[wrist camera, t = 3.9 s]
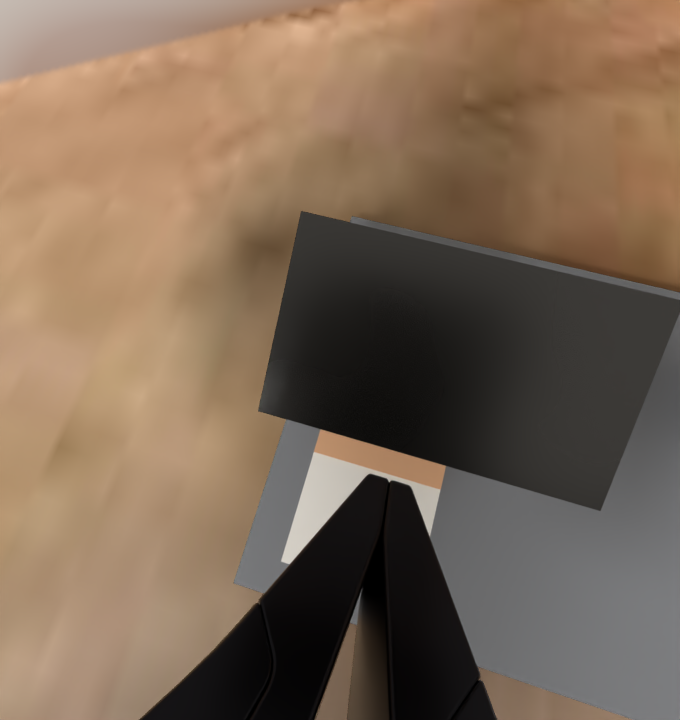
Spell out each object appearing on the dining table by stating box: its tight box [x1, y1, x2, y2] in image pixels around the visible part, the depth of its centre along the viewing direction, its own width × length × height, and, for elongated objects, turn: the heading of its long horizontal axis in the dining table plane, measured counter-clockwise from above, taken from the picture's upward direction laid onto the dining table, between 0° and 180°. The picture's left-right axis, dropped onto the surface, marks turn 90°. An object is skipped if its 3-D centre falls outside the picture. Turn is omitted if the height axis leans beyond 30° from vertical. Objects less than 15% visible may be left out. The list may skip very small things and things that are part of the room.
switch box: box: [234, 216, 680, 720], centre depth 13 cm, size 14×20×4 cm
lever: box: [258, 211, 680, 511], centre depth 9 cm, size 2×3×11 cm, turn 74°
